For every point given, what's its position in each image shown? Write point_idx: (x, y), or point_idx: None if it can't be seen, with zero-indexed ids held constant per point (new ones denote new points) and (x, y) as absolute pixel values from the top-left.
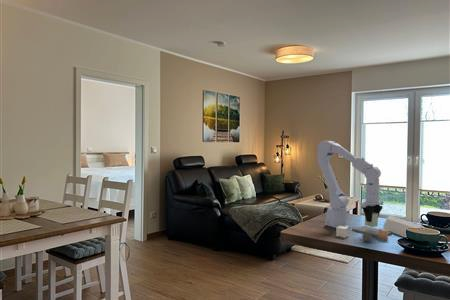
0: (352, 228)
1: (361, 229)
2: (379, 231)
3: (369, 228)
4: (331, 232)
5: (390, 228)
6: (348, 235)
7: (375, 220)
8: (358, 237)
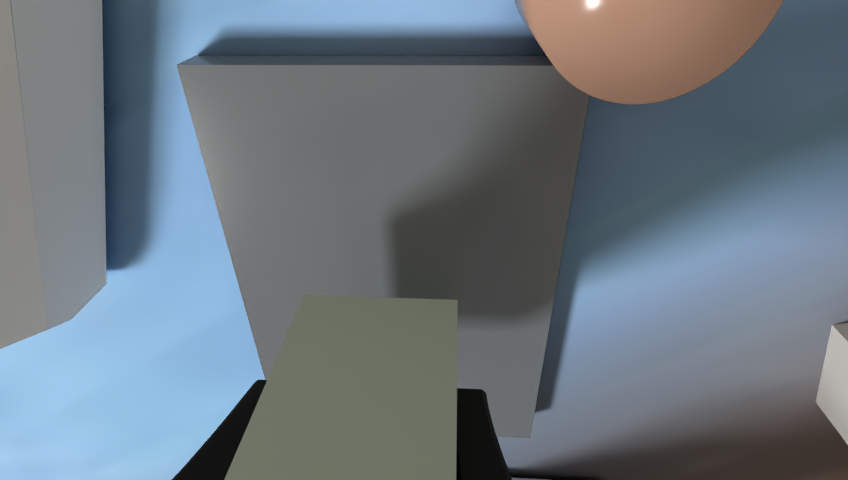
0: (530, 433)
1: (476, 372)
2: (766, 2)
3: None
4: (806, 463)
5: (62, 183)
6: (837, 329)
7: (346, 384)
8: (820, 226)
